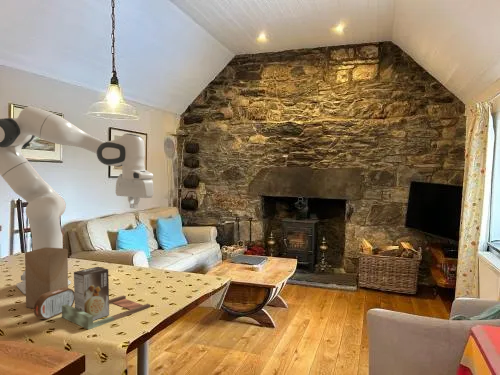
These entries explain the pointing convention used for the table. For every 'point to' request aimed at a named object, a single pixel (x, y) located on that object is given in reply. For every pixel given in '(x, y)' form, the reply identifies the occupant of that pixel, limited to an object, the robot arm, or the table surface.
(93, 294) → the coffee box
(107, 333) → the table surface
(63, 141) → the robot arm
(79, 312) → the brown low open piece
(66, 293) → the tin
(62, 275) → the wooden block
